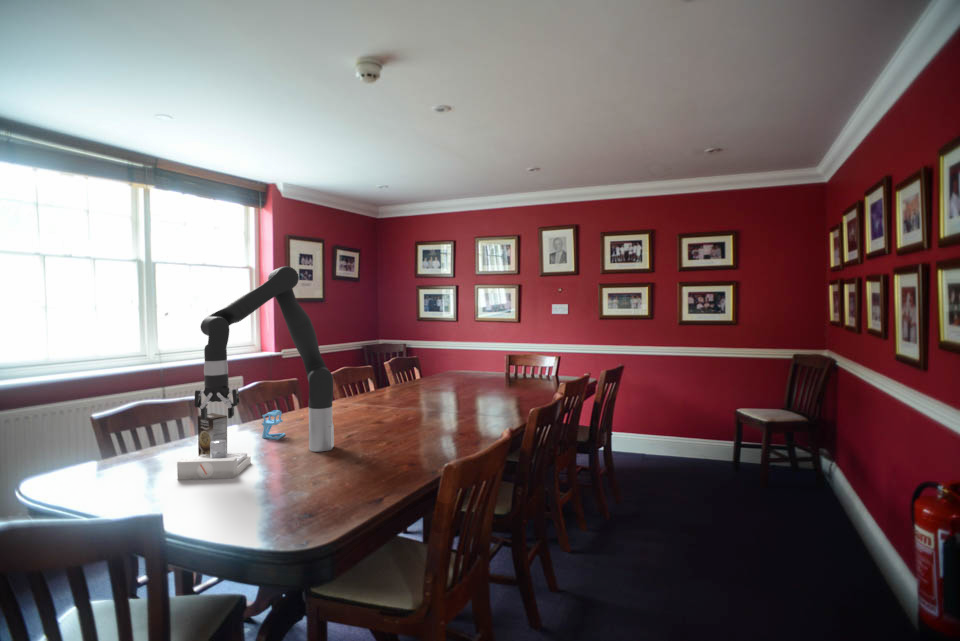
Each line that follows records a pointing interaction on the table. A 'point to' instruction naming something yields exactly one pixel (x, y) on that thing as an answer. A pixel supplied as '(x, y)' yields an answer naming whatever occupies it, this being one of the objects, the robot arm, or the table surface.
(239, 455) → the platter
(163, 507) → the table surface
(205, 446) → the coffee box
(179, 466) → the scale
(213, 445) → the small grey jar
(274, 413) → the chair
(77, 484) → the table surface
